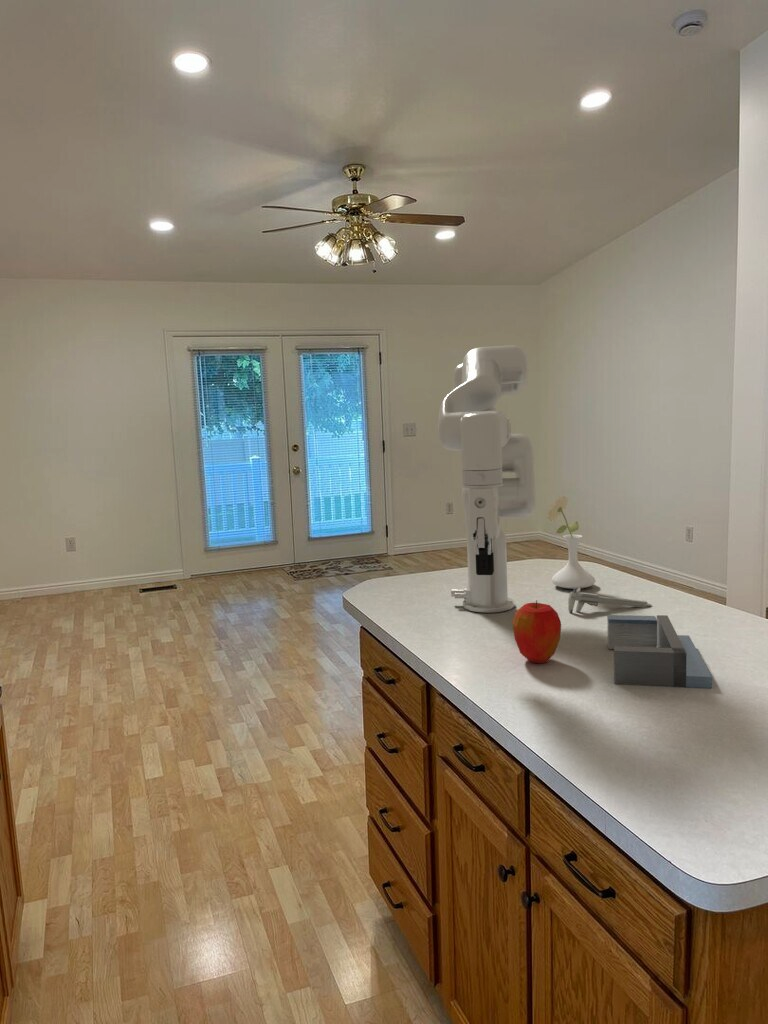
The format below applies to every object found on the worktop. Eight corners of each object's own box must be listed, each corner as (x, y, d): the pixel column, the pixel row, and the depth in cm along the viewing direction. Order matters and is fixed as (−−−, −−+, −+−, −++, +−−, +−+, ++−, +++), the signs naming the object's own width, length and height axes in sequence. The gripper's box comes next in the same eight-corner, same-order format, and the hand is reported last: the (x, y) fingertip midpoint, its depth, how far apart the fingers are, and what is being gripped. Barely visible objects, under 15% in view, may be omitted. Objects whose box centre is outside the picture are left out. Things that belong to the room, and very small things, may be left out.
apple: (506, 655, 139) (504, 596, 137) (548, 650, 140) (547, 592, 139) (524, 672, 130) (523, 609, 128) (570, 666, 131) (569, 604, 130)
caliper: (570, 614, 164) (569, 588, 163) (568, 613, 165) (568, 587, 164) (652, 607, 167) (652, 581, 166) (650, 606, 168) (650, 580, 167)
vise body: (615, 684, 122) (614, 650, 121) (606, 642, 143) (606, 614, 142) (711, 688, 118) (712, 654, 117) (688, 645, 139) (689, 615, 138)
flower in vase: (576, 579, 196) (575, 490, 192) (604, 588, 185) (604, 494, 182) (537, 586, 190) (536, 494, 187) (564, 595, 180) (563, 498, 177)
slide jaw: (608, 648, 139) (608, 619, 138) (607, 643, 142) (607, 614, 141) (656, 650, 136) (657, 620, 136) (654, 645, 139) (655, 615, 139)
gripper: (499, 482, 124) (501, 583, 127) (505, 474, 139) (507, 565, 141) (456, 483, 126) (460, 583, 128) (467, 475, 140) (470, 565, 143)
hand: (485, 573), depth 135 cm, fingers closed
